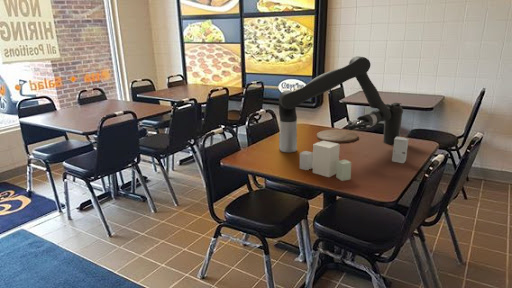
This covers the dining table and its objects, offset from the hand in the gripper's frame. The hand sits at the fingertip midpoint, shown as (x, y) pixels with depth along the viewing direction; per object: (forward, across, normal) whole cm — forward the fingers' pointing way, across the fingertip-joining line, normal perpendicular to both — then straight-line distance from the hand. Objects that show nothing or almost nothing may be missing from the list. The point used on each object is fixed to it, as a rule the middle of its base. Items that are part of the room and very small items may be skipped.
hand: (350, 128), depth 183 cm
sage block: (+23, +10, +17) cm, 30 cm away
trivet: (-32, -27, +18) cm, 46 cm away
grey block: (+23, -10, +17) cm, 30 cm away
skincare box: (-14, +20, +18) cm, 30 cm away
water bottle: (-42, +3, +18) cm, 46 cm away
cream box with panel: (+22, 0, +17) cm, 28 cm away
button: (+19, +1, +11) cm, 22 cm away
